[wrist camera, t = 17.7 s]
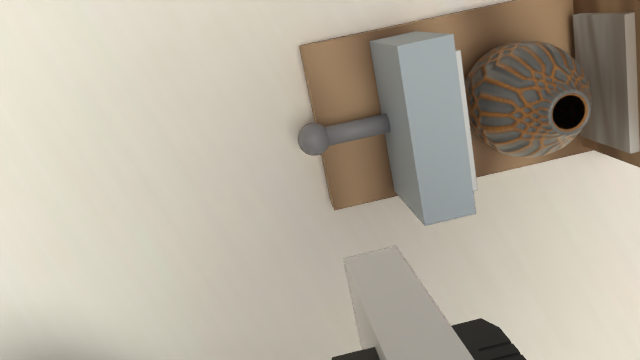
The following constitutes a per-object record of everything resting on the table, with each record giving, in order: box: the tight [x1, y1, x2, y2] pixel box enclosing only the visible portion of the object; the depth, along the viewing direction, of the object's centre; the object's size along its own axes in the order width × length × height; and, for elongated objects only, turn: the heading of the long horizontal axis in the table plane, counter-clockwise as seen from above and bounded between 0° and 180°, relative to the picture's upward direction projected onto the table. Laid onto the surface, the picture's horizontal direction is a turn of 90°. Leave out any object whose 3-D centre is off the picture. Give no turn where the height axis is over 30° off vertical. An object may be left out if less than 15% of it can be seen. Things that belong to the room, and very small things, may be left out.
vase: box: [464, 40, 592, 157], centre depth 34 cm, size 7×7×9 cm
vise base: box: [299, 0, 640, 210], centre depth 35 cm, size 22×11×8 cm, turn 101°
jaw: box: [298, 31, 478, 226], centre depth 34 cm, size 9×10×7 cm
